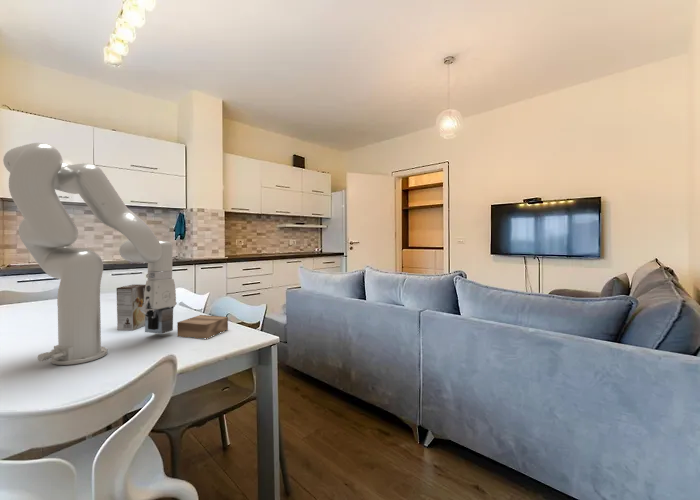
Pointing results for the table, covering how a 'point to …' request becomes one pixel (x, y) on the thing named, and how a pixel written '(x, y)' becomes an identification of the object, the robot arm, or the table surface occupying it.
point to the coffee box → (130, 307)
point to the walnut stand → (202, 326)
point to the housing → (162, 321)
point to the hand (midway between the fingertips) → (159, 326)
